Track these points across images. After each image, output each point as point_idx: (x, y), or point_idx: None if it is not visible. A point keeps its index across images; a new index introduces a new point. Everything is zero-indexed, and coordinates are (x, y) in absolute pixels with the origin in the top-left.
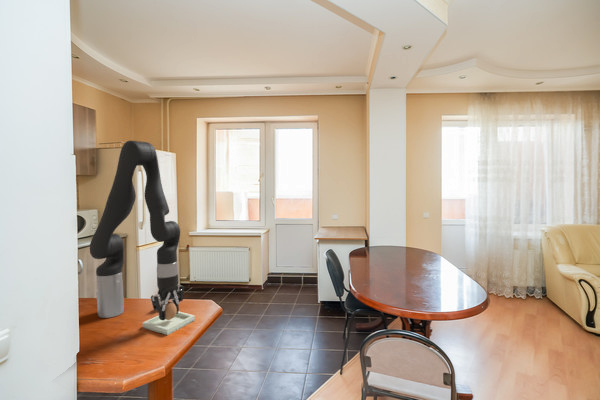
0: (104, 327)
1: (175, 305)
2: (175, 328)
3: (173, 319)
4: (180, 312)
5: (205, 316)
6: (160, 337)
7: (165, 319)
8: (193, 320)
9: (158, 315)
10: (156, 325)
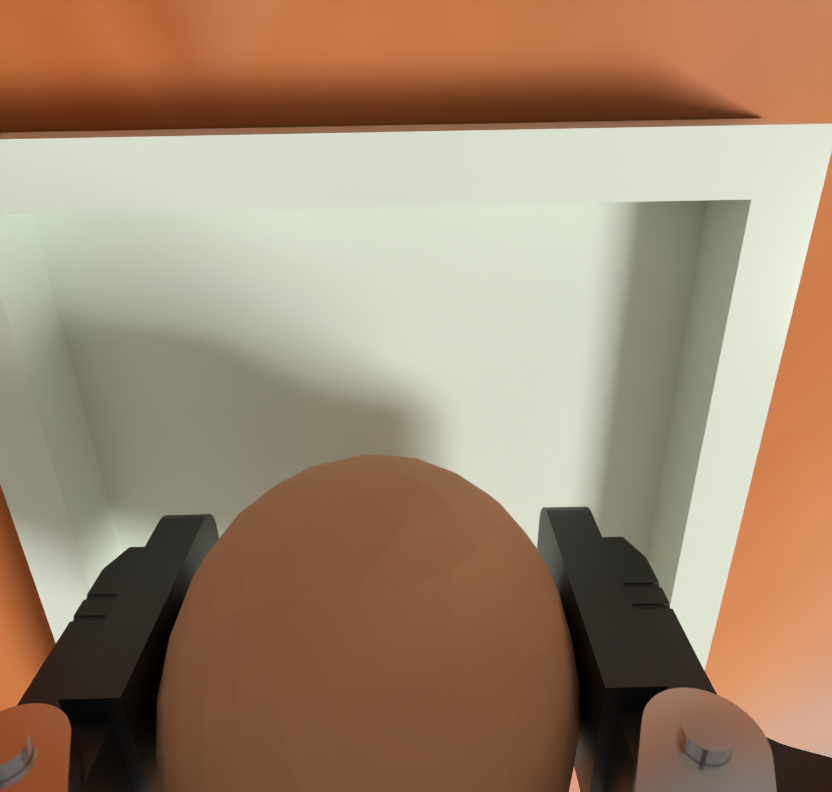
0: None
1: (585, 773)
2: None
3: (508, 449)
4: (726, 479)
5: (822, 705)
6: (39, 666)
7: (438, 308)
8: None
9: (383, 137)
10: (54, 538)
